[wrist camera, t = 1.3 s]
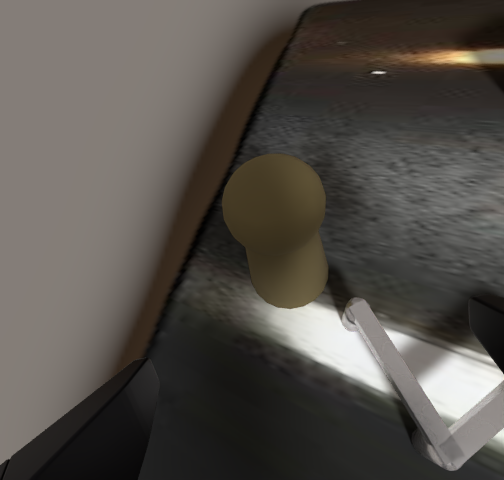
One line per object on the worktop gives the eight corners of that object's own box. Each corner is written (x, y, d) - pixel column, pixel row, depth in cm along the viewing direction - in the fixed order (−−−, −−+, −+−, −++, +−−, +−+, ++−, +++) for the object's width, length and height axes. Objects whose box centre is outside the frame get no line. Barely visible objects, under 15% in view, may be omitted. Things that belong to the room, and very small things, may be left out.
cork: (235, 265, 24) (182, 181, 15) (294, 222, 25) (279, 115, 16) (282, 325, 22) (253, 271, 12) (346, 274, 22) (367, 184, 13)
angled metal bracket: (561, 495, 15) (631, 525, 12) (329, 428, 18) (332, 437, 15) (539, 345, 18) (590, 333, 15) (342, 309, 21) (347, 293, 18)
